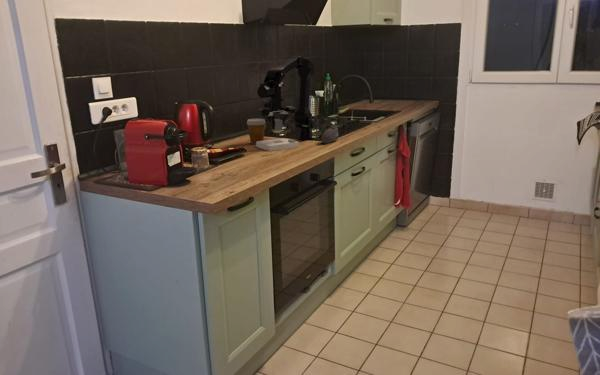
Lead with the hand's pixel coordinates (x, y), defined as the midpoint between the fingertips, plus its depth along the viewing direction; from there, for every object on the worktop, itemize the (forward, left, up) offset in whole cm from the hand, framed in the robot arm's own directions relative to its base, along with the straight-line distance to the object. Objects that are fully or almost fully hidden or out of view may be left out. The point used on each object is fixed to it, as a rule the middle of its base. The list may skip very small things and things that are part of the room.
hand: (277, 128), depth 237 cm
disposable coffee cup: (+4, -14, -9) cm, 17 cm away
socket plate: (0, 0, -9) cm, 9 cm away
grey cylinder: (0, 0, -2) cm, 2 cm away
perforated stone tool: (-27, +6, -9) cm, 29 cm away
